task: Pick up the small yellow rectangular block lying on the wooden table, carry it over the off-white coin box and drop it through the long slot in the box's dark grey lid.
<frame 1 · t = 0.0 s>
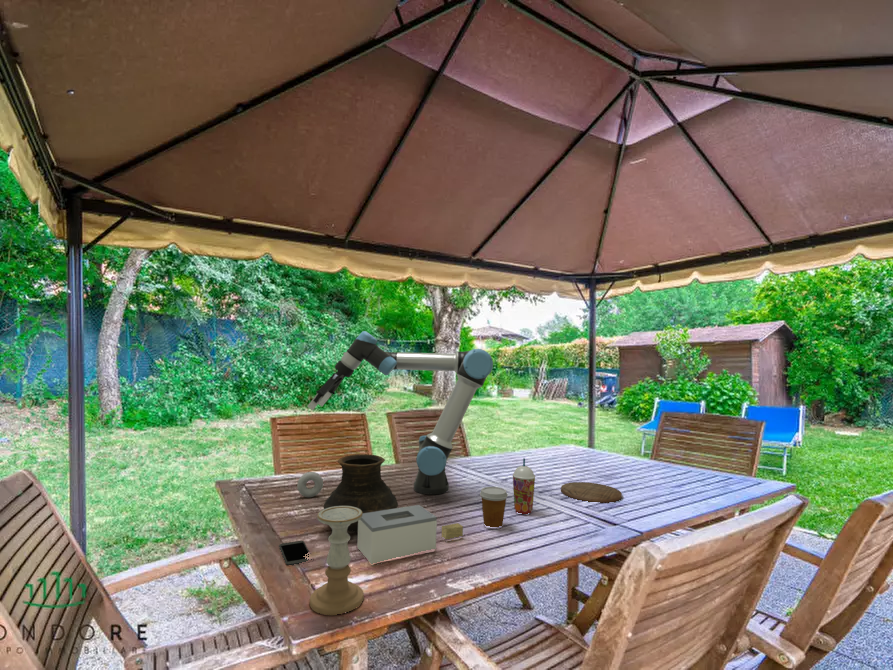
hand: (314, 406, 180), 36 cm above the table, tool tilted 35°, fingers open, 13 cm apart
donut: (309, 497, 177), on the table
coin box: (396, 550, 131), on the table
yellow rectangular block: (452, 539, 140), on the table
trivet: (590, 495, 192), on the table
disposable coffee cup: (493, 526, 152), on the table
smoothie: (523, 513, 166), on the table
ceramic pot: (360, 528, 147), on the table
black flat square: (295, 554, 128), on the table
candle holder: (336, 601, 103), on the table
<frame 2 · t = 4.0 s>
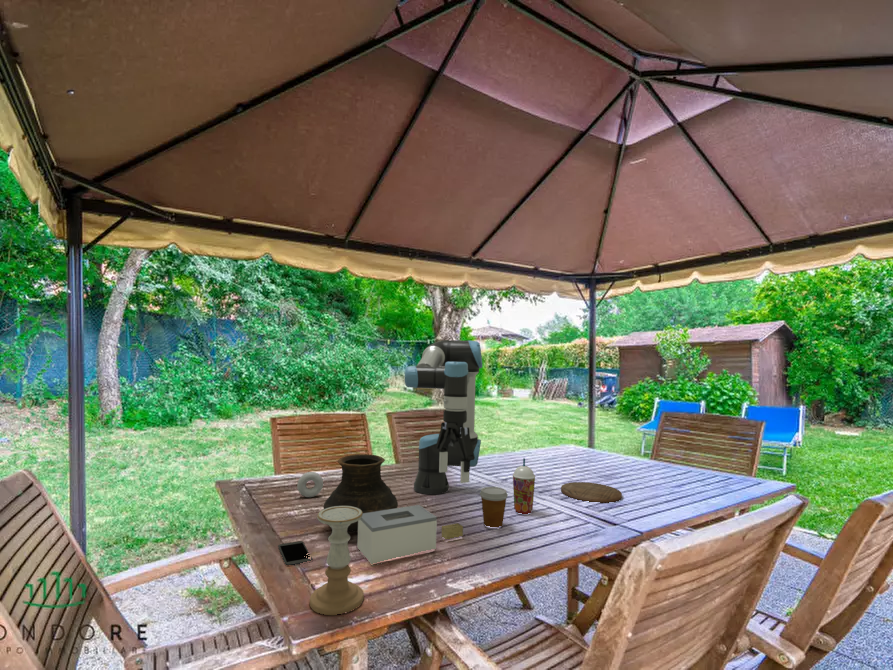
hand: (453, 477, 141), 19 cm above the table, tool pointing down, fingers open, 13 cm apart
nothing on the table moved.
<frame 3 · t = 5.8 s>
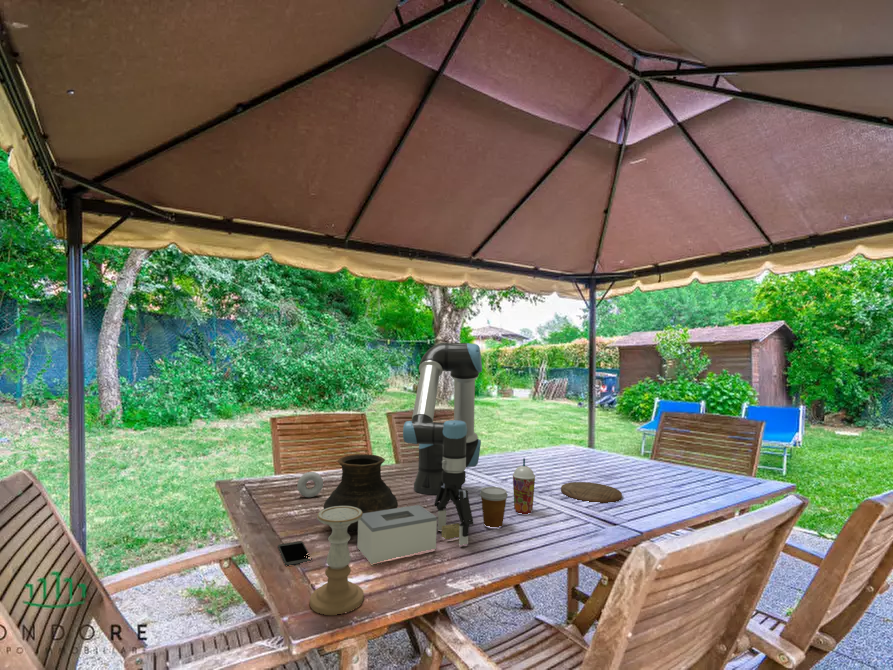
hand: (452, 538, 140), 0 cm above the table, tool pointing down, fingers open, 13 cm apart
nothing on the table moved.
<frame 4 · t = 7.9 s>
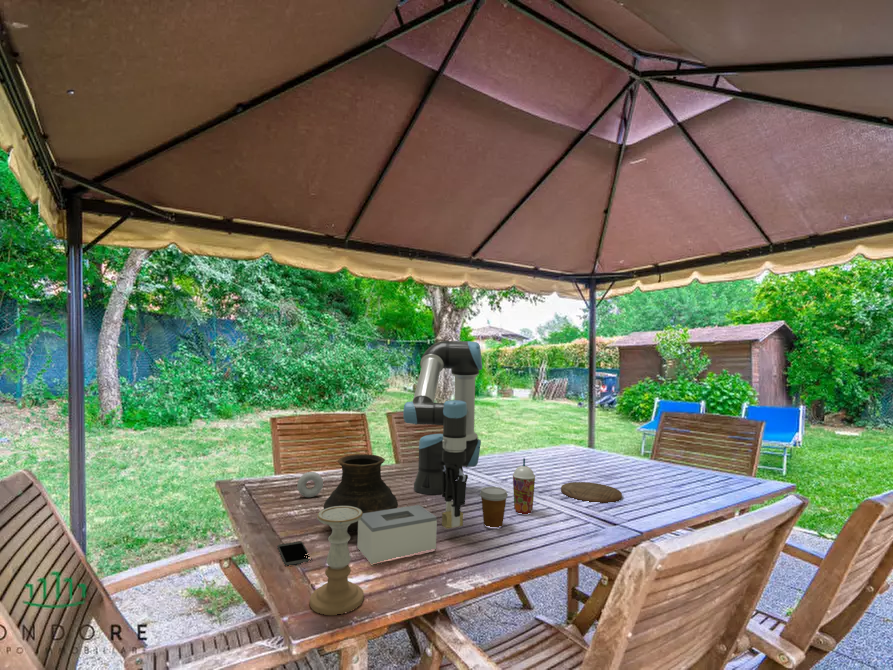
hand: (452, 523, 141), 4 cm above the table, tool pointing down, fingers closed on yellow rectangular block, 3 cm apart
yellow rectangular block: (452, 525, 141), point 4 cm above the table, touching gripper
everything else where it was.
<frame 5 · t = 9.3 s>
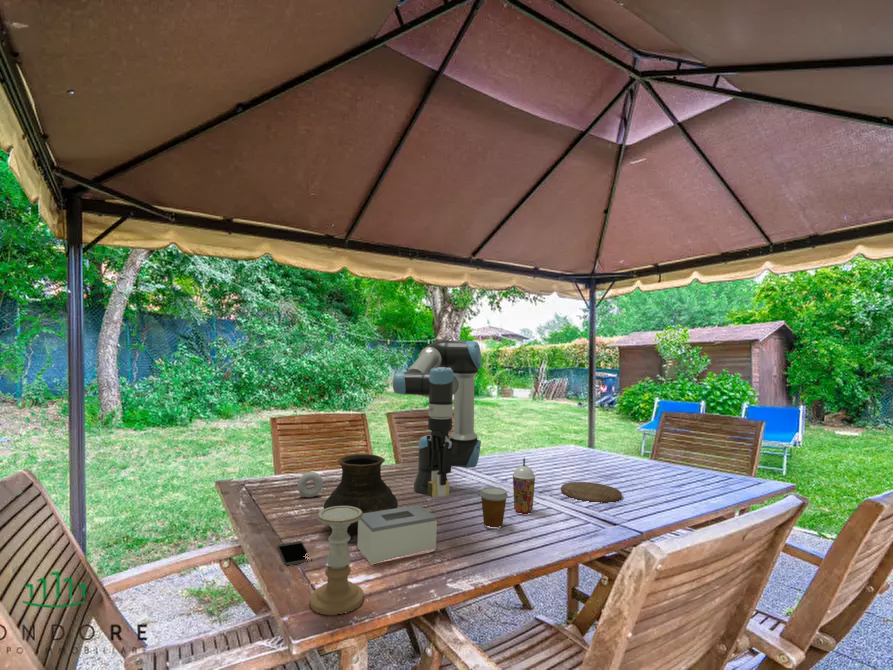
hand: (438, 493, 138), 15 cm above the table, tool pointing down, fingers closed on yellow rectangular block, 3 cm apart
yellow rectangular block: (438, 494, 138), point 14 cm above the table, touching gripper
everything else where it was.
when the fingers open (12 cm above the table, at t = 11.1 s): yellow rectangular block drops 10 cm, resting on coin box.
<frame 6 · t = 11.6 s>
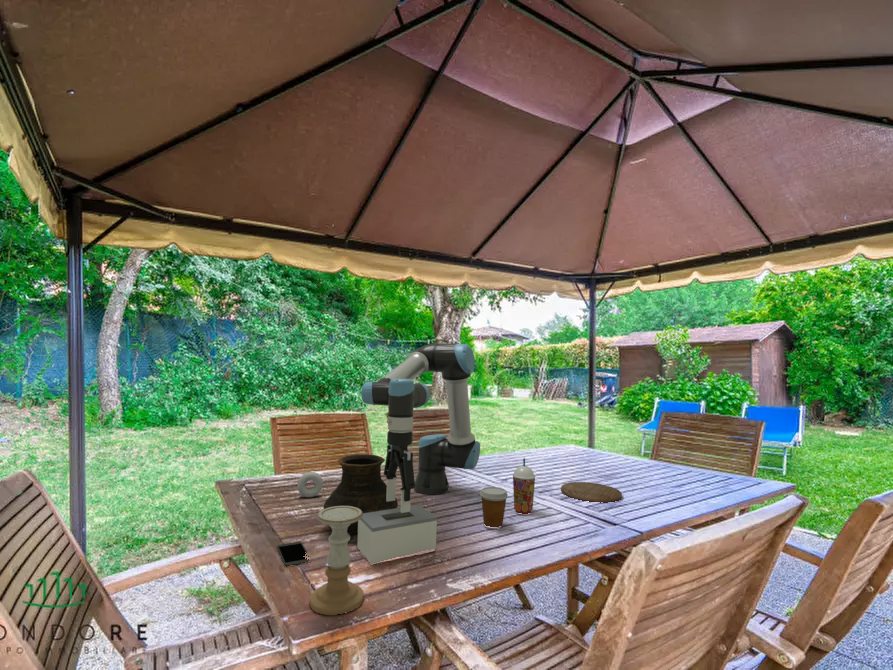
hand: (397, 506, 132), 13 cm above the table, tool pointing down, fingers open, 10 cm apart
yellow rectangular block: (396, 546, 131), point 1 cm above the table, touching coin box
everything else where it was.
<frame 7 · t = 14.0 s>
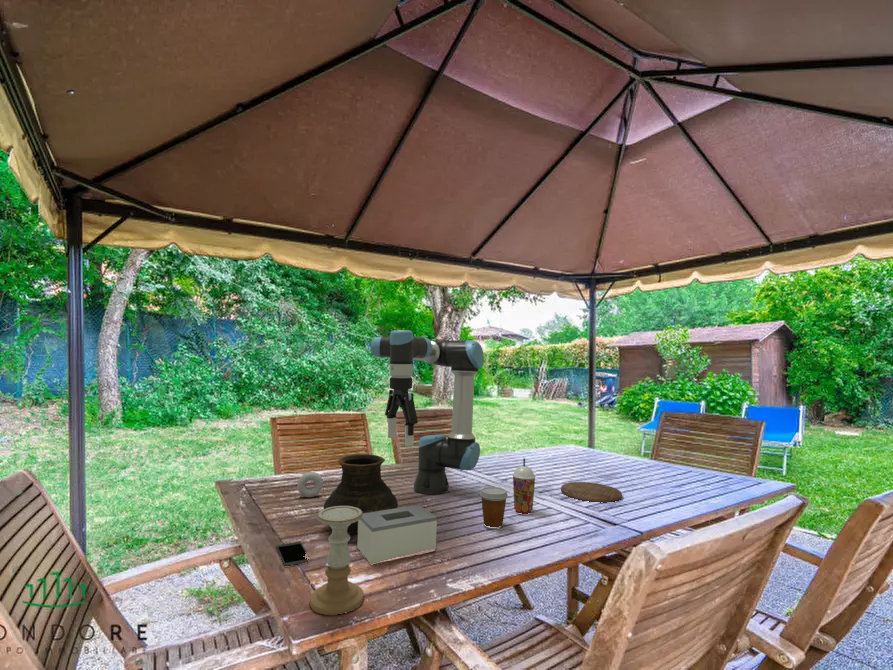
hand: (400, 441, 146), 29 cm above the table, tool pointing down, fingers open, 13 cm apart
nothing on the table moved.
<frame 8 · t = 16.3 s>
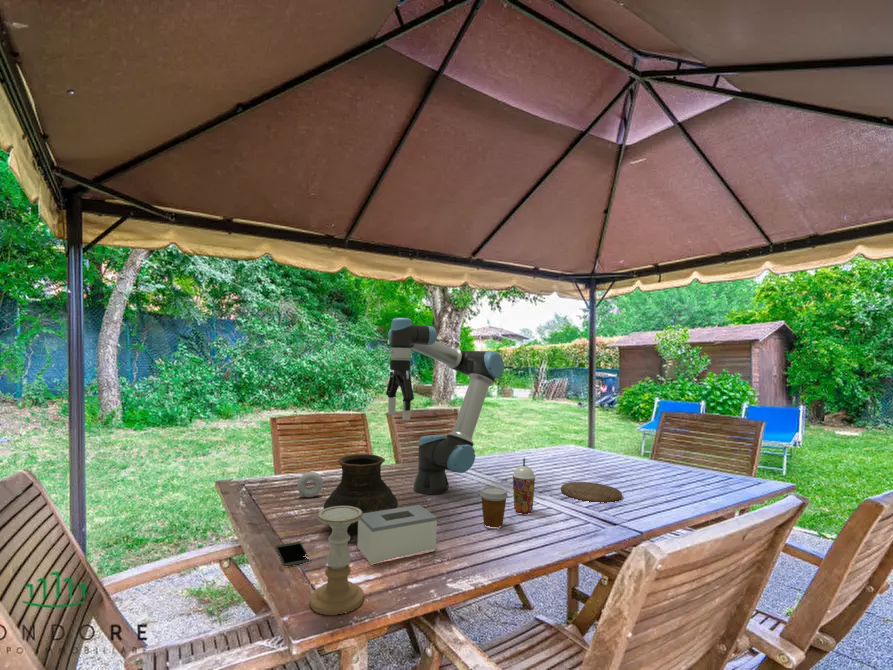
hand: (398, 417, 164), 35 cm above the table, tool pointing down, fingers open, 13 cm apart
at the end: yellow rectangular block inside the target area on the coin box (0.0 cm from its centre), point 1.0 cm above the coin box's base; the gripper is holding nothing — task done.
